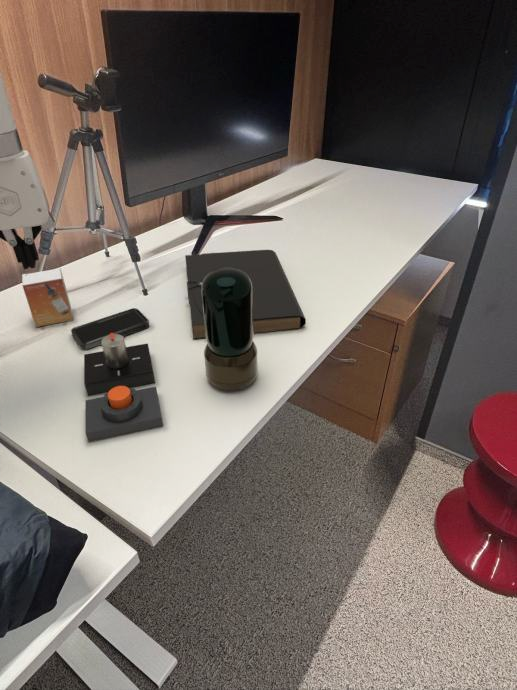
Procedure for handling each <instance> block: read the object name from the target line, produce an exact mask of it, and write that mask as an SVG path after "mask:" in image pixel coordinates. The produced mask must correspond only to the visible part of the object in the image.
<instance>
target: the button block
mask: <svg viewBox="0 0 517 690" xmlns="http://www.w3.org/2000/svg"><path fill="white" fill-rule="evenodd" d="M129 389H130V392H131V397H132V403H131V404H130V405H129V406H128V407H126V408H123V409H113V408H112V407H111V406H110V403H109V399H108V393H104V395H103V396H101V397H95V398H90V399H85V401H84V402H85V403H84V404H85V405H84V406H85V407H84V408H85V411H84V412H85V435H86V439H87V442H88V443H92V442H97V441H103V440H106V439H111V438H115V437H120V436H124V435H129V434H130V435H131V434H134V433H138V432H144V431H148V430H153V429H157V428H162V427H164V422H163V416H162V412H161V411H162V410H161V406H160V400H159V396H158V395H159V394H158V391H157V390H158V389H157V386H152V387H146V388H141V389H135V388H129Z"/></svg>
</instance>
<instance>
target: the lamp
mask: <svg viewBox="0 0 517 690" xmlns="http://www.w3.org/2000/svg"><path fill="white" fill-rule="evenodd" d="M201 293H202V303H203V314H204V325H205V335H206V338H205V340H206V344H205V347H204V349H203V358H204V367H205V376H206V379H207V380H208V382H209V383H210V384H211V385H212V386H214V387H215V388H217V389H220V390H224V391H237V390H241V389H244V388H246V387H248V386H249V385H251V384H253V382H254V381H255V379H256V378H257V376H258V348H257V345H256V344H255V342H254V334H255V333H254V326H253V286H252V282H251V280H250V278H249V277H248V275H247V274H246V273H244V272H243V271H241V270H239V269H236V268H231V267H224V268H219V269H216V270H213V271H212V272H210V273H209V274H208V275H207V276H206V277H205V278H204V280H203V282H202V286H201Z"/></svg>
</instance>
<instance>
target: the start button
mask: <svg viewBox="0 0 517 690" xmlns="http://www.w3.org/2000/svg"><path fill="white" fill-rule="evenodd" d="M108 399H109V403H110V406H111V407H112V408H113V409H123V408H126V407H128V406H129V405H130V404H131V403H132V397H131V392H130V389H129V388H128V387H126V386H117V387H114V388H112V389H111V390H110V391H109V392H108Z"/></svg>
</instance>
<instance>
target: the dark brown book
mask: <svg viewBox="0 0 517 690" xmlns="http://www.w3.org/2000/svg"><path fill="white" fill-rule="evenodd" d="M184 259H185V267H186V268H185V269H186V279H187V282H186V286H187V299H188V304H189V310H190V311H189V312H190V320H191V331H192V339H193V340H197V339H198V340H199V339H200V340H201V339H206V335H205V325H204V314H203V303H202V293H201V286H202V282H203V280H204V278H205V277H206V276H207V275H208V274H209V273H210V272H212V271H213V270H216V269H219V268H224V267H231V268H236V269H239V270H241V271H243V272H244V273H246V274H247V275H248V277H249V278H250V280H251V282H252V286H253V326H254V334H263V333H273V332H282V331H283V332H285V331H295V330H300V329H301V328H303V327H305V325H306V324H307V323H306V322H307V319H306V316H305V315H304V312H303V310H302V308H301V306H300V303H299V302H298V299H297V297H296V294H295V292H294V290H293V288H292V286H291V284H290V281H289V279H288V277H287V275H286V273H285V270H284V267H283V266H282V264H281V261H280V259H279V257H278V254H277V252H276V251H274V250H273V249H258V250H257V249H256V250H241V251H240V250H239V251H225V252H224V251H222V252H211V253H210V252H207V253H206V252H205V253H200V254H185V257H184Z"/></svg>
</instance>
